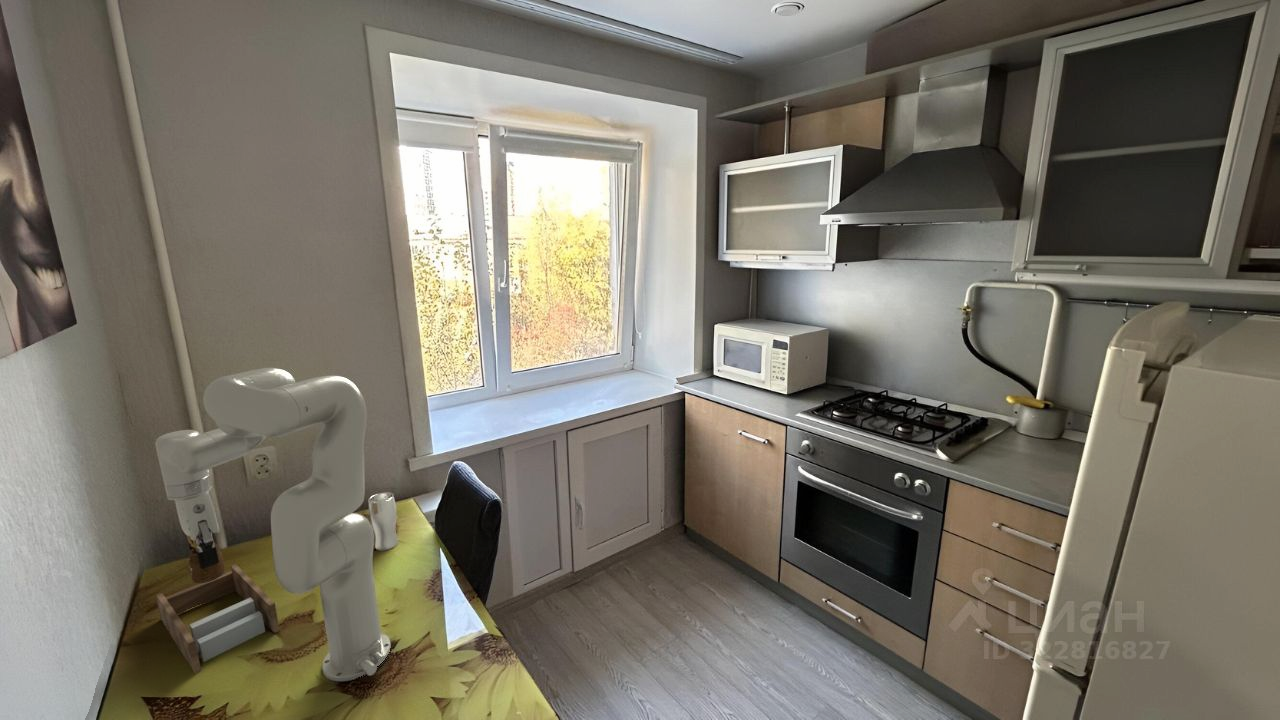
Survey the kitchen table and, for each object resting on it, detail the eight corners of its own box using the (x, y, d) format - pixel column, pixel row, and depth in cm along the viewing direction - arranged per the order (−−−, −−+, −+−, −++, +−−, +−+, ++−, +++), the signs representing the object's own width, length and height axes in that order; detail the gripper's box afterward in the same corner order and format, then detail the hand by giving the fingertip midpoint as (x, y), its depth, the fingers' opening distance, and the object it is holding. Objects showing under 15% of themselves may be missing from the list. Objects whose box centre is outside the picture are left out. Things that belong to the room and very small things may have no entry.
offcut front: (265, 632, 116) (262, 614, 115) (203, 662, 108) (199, 643, 107) (262, 628, 117) (258, 610, 116) (200, 658, 109) (197, 639, 108)
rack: (279, 630, 116) (274, 603, 115) (195, 673, 104) (188, 643, 103) (238, 586, 132) (233, 562, 131) (160, 619, 120) (154, 592, 119)
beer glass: (405, 542, 152) (399, 495, 149) (382, 554, 146) (376, 505, 143) (391, 536, 155) (385, 489, 152) (368, 547, 149) (362, 499, 147)
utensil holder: (230, 566, 121) (220, 519, 119) (218, 581, 115) (207, 532, 113) (200, 572, 119) (189, 524, 117) (186, 587, 113) (174, 538, 111)
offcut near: (258, 623, 119) (253, 600, 118) (197, 653, 110) (192, 628, 109) (254, 620, 120) (250, 597, 119) (194, 648, 111) (189, 624, 110)
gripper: (222, 489, 111) (238, 565, 114) (199, 472, 121) (214, 542, 125) (177, 503, 105) (195, 582, 109) (156, 484, 115) (173, 557, 119)
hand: (205, 560), depth 116 cm, fingers closed on utensil holder, 5 cm apart
